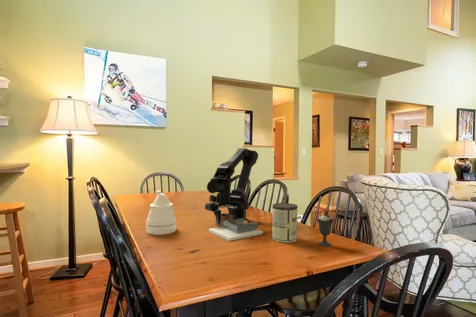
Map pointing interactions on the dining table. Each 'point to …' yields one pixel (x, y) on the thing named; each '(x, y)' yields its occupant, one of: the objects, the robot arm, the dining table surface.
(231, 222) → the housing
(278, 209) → the coffee can
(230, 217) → the hollow wooden box
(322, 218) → the sundae
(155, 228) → the honey pot
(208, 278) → the dining table surface
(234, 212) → the robot arm
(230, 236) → the base board
